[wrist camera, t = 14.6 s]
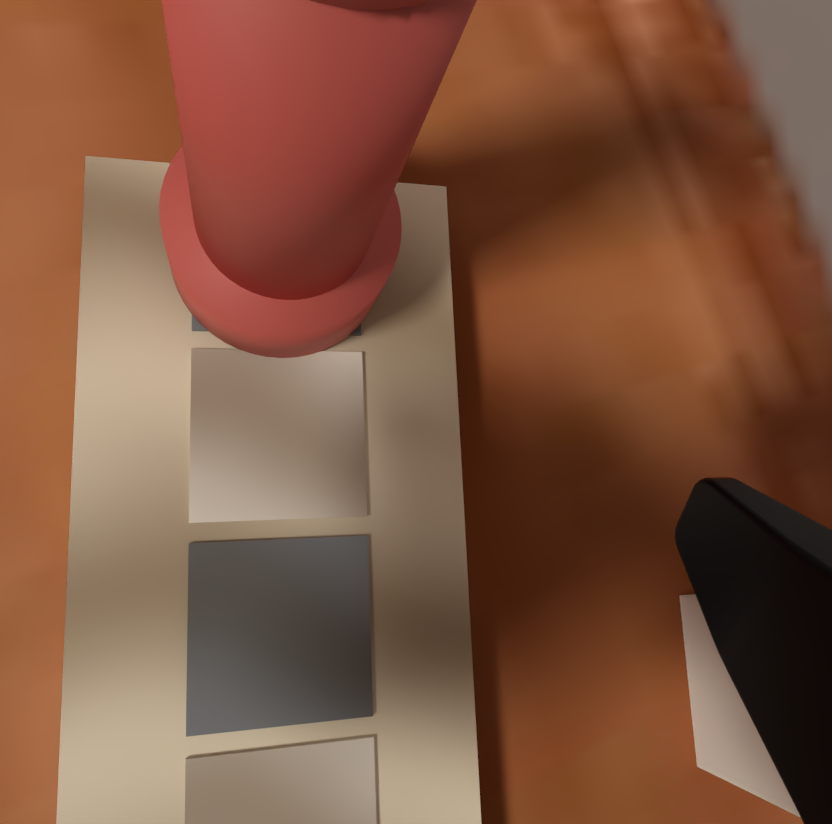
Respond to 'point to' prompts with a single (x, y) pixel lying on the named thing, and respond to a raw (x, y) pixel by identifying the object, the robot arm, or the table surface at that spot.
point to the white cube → (725, 717)
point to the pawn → (294, 158)
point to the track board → (263, 549)
